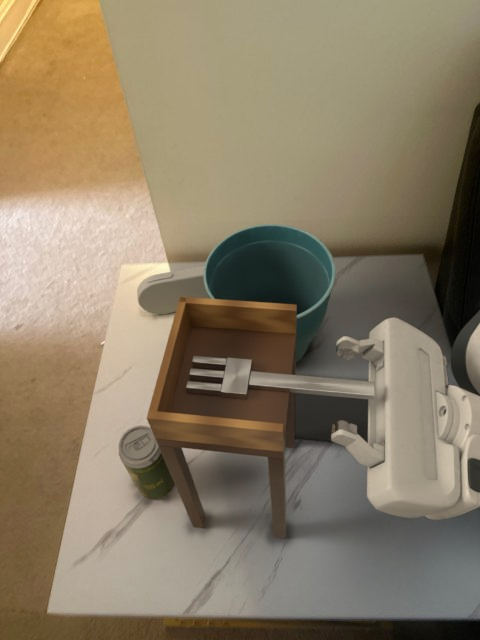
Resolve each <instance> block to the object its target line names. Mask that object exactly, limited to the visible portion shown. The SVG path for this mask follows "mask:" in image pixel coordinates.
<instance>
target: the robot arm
mask: <svg viewBox="0 0 480 640" xmlns="http://www.w3.org/2000/svg"><path fill="white" fill-rule="evenodd" d="M335 347H336V349H335V355H336V356H337V357H339V358H342V359H343V360H346V361H351V360H352V359H353V358H354V357H356V356H357V355H358V354H359V355H360V354H361V357H362V359H363V360H366V361H368V380H367V381H372V382H375V398H374V400H369V399H368V443H367V442H366V441H365V440H364V439H363V438H362V437H360V436H359V435H358V434H357V425H354V424H352V423H350V424H348V422H346V421H343V420H340V421H337V422H336V424H333V425H332V432H331V441H333V442H332V443H336V444H338V445H341V446H344V447H345V449H346V450H347V451H348V453H350V455H351V456H352V457H353V459H355V460H356V461H357V462H358V463H359V465H363V466H365V467H366V469H367V470H366V481H367V482H366V498H367V499H368V501H369V502H370V503H371V505H372V506H373V507H374V509H375V510H377V511H379V512H381V513H385V514H388V515H392V516H396V517H400V518H408V519H419V518H421V517H424V516H425V517H426V518H427V519H429V520H432V521H438V520H445V519H450V518H454V517H458V516H461V515H463V514H466V513H469V512H471V511H474V510H476V509H477V508H479V507H480V309H479V310H478V311H477V312H476V314H475V315H474V316H472V317H471V319H469V321H468V322H467V323H466V324H465V325H464V326H463V327H462V329H461V330H460V331H459V333H458V334H457V336H456V338H455V340H454V342H453V345H452V348H451V351H450V352H451V353H450V369H451V373H452V376H453V378H454V380H455V382H456V384H457V385H453V384H450V381H449V376H448V375H449V374H448V371H447V370H448V369H447V368H448V360H447V357H446V355H444V354H443V351H442V349H441V347H440V345H439V344H438V343H437V342H436V341H435V339H433V338H432V337H430V336H429V335H427V334H426V333H424V332H423V331H422V330H419V329H418V328H416V327H415V326H413V325H412V324H409V323H408V322H406V321H404V320H402V319H400V318H398V317H388V318H385V319H384V320H382V321H381V322H380V323H378V324H377V325H376V326H374V327H373V328H372V329H370V332H369V334H368V338H366V339H365V338H364V339H360V340H358V339H355V338H353V337H350V336H347V335H345V336H342V337H340V338H339V339H338V340H337V341H336V344H335Z"/></svg>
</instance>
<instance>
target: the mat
mask: <svg viewBox="0 0 480 640" xmlns="http://www.w3.org/2000/svg"><path fill="white" fill-rule="evenodd" d="M340 420H343V421H346V422H348V424H350V423H352V424H354V425H357V434H358V435H359V436H360V437H362V438H363V439H364V440H365V441H366V442H367V443H368V399H358V398H348V397H337V396H326V395H315V394H304V393H296V400H295V439H300V440H301V439H302V440H311V441H321V442H329V443H331V442H332V443H334V442H333V441H331V432H332V425H333V424H336V422H337V421H340Z"/></svg>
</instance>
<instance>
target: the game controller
mask: <svg viewBox="0 0 480 640" xmlns="http://www.w3.org/2000/svg"><path fill="white" fill-rule="evenodd" d="M204 266H205V265H202V266H195V267H191V268H185V269H179V270H173V271H168V272H161V273H157V274H153V275H150V276H148V277H146V278H144V279H143V280H142V281H141V282H140V283H139V284H138V287H137V288H136V289H137V290H136V294H137V295H136V296H137V303H138V305H139V306H140V308H141V309H142V310H144V311H145V312H147V313H150V314H154V315H169V314H172V313H175V312H176V309H177V305H178V301H179V298H180V297H192V298H207V299H210V297H209V295H208V293H207V291H206V288H205V284H204V278H203V273H204Z"/></svg>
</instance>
